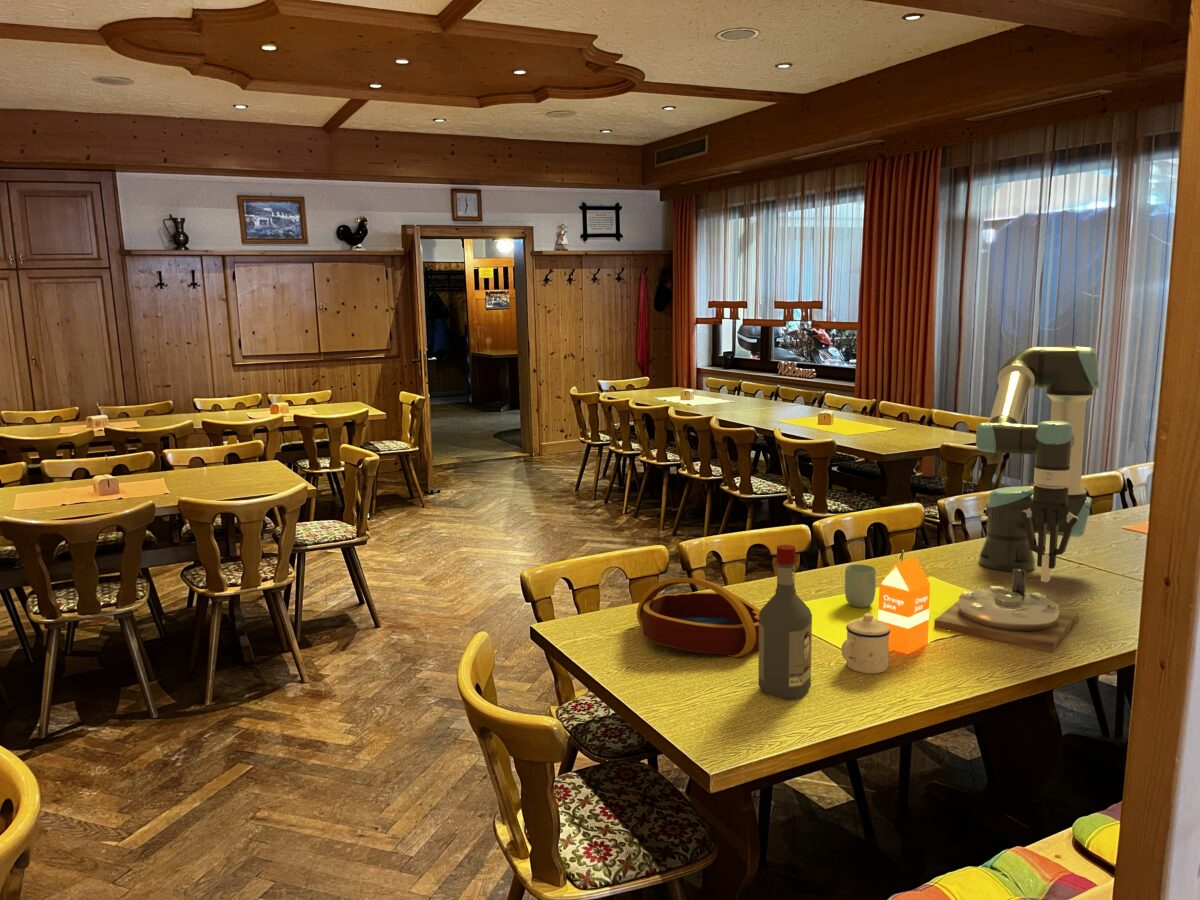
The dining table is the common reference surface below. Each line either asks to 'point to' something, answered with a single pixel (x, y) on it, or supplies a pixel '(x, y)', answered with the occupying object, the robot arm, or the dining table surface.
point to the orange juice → (905, 606)
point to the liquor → (785, 635)
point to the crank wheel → (1009, 607)
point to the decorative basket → (699, 619)
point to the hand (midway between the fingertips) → (1045, 580)
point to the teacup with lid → (867, 645)
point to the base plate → (1031, 639)
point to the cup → (860, 585)
